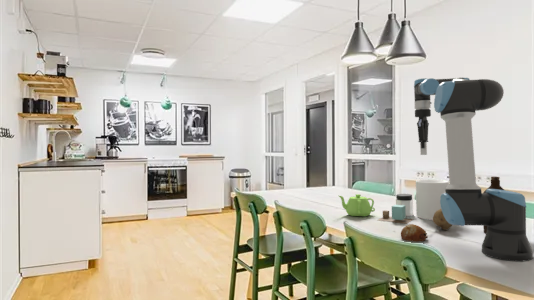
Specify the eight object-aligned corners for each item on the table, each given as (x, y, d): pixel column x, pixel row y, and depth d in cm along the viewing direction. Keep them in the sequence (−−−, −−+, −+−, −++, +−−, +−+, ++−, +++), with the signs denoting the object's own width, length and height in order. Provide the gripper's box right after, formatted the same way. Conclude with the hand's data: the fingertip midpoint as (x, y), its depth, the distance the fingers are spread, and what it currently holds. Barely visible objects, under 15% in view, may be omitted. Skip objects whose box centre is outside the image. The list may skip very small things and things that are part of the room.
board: (406, 225, 170) (406, 223, 170) (376, 222, 180) (376, 220, 180) (413, 221, 179) (413, 219, 179) (385, 217, 189) (385, 216, 189)
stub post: (387, 218, 184) (387, 211, 184) (382, 217, 185) (382, 211, 185) (389, 217, 186) (389, 210, 186) (384, 216, 187) (384, 210, 187)
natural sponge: (441, 233, 155) (441, 211, 155) (428, 228, 164) (428, 207, 164) (459, 231, 157) (458, 209, 157) (445, 226, 166) (445, 206, 166)
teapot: (355, 221, 184) (355, 197, 183) (338, 216, 196) (337, 194, 196) (377, 217, 191) (377, 194, 191) (359, 213, 204) (358, 191, 203)
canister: (434, 214, 194) (433, 178, 193) (457, 220, 178) (456, 181, 178) (410, 216, 190) (409, 180, 189) (430, 223, 174) (430, 183, 174)
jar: (393, 215, 194) (392, 194, 194) (405, 214, 197) (404, 193, 196) (403, 218, 186) (403, 196, 185) (416, 217, 188) (415, 195, 188)
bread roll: (410, 243, 154) (401, 226, 156) (432, 236, 148) (423, 218, 150) (402, 248, 147) (394, 230, 149) (425, 241, 141) (416, 223, 143)
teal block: (402, 220, 174) (401, 207, 174) (391, 219, 177) (391, 206, 177) (405, 218, 178) (405, 205, 178) (395, 217, 181) (395, 204, 181)
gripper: (426, 107, 171) (428, 155, 172) (433, 109, 181) (434, 154, 182) (411, 109, 176) (412, 155, 176) (418, 110, 186) (419, 154, 186)
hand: (423, 154), depth 179 cm, fingers closed
